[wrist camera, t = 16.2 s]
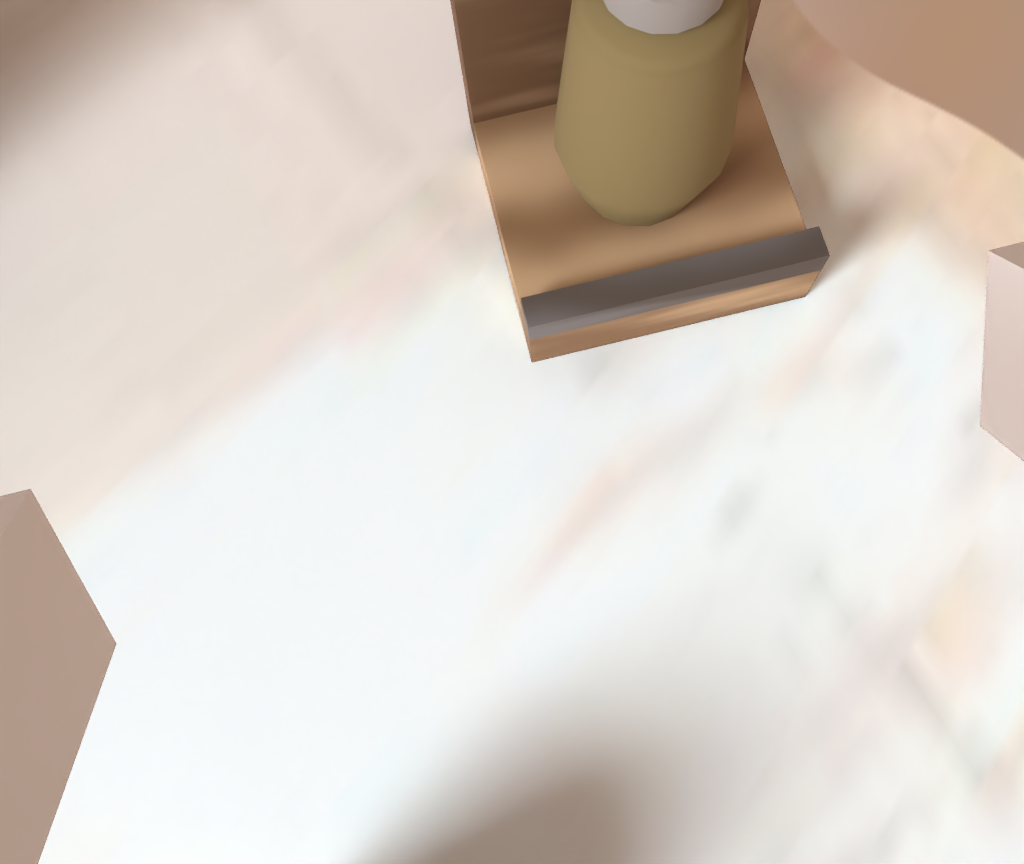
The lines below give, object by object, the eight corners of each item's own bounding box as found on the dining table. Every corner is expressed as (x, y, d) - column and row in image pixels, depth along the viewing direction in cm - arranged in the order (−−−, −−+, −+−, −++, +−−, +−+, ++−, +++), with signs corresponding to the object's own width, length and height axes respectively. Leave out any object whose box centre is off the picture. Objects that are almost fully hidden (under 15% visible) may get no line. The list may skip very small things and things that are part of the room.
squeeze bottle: (613, 279, 44) (644, 9, 27) (522, 154, 46) (496, -171, 29) (754, 194, 45) (872, -121, 28) (658, 75, 47) (712, -288, 30)
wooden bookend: (470, 125, 50) (377, -442, 25) (722, 65, 50) (878, -557, 25) (531, 362, 46) (493, -32, 21) (805, 296, 46) (1083, -170, 22)
